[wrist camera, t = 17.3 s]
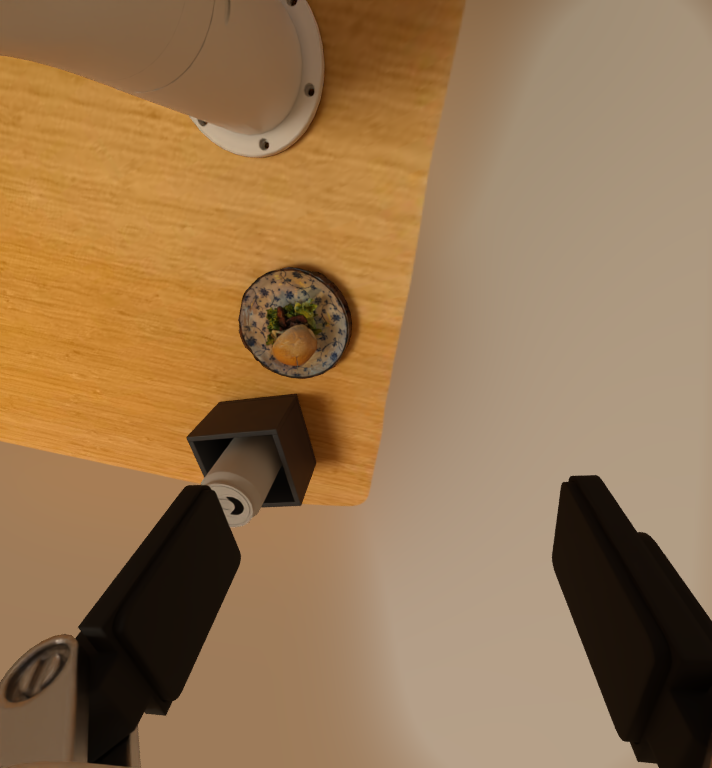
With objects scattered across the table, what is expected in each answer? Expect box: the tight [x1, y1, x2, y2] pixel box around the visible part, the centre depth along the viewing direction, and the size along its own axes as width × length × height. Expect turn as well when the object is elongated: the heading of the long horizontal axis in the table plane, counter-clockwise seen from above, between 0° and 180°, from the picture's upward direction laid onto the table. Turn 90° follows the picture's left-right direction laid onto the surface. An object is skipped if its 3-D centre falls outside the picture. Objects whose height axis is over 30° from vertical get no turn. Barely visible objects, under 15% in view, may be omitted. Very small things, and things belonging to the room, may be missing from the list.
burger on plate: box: [238, 267, 352, 379], centre depth 36 cm, size 12×12×8 cm
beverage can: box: [201, 434, 282, 527], centre depth 41 cm, size 6×6×12 cm
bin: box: [186, 394, 316, 507], centre depth 43 cm, size 10×10×8 cm
